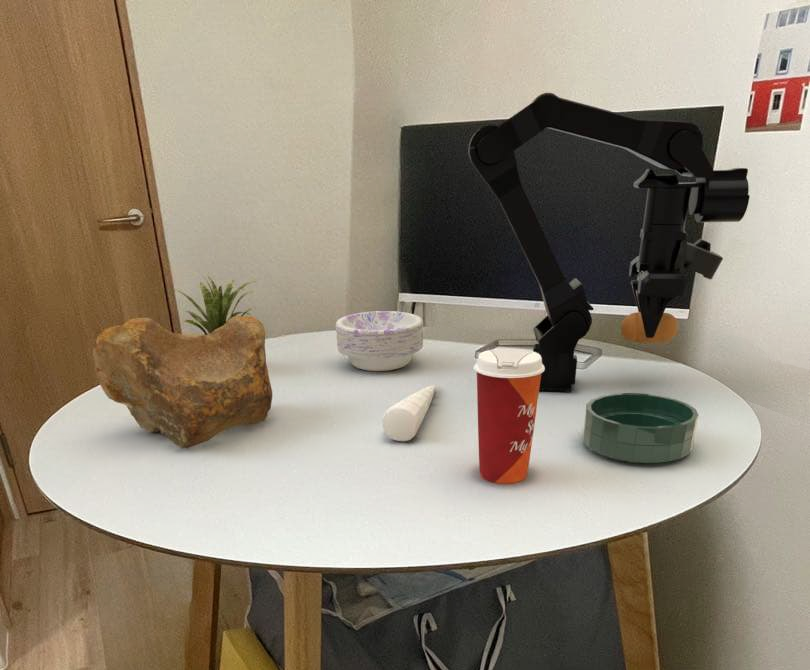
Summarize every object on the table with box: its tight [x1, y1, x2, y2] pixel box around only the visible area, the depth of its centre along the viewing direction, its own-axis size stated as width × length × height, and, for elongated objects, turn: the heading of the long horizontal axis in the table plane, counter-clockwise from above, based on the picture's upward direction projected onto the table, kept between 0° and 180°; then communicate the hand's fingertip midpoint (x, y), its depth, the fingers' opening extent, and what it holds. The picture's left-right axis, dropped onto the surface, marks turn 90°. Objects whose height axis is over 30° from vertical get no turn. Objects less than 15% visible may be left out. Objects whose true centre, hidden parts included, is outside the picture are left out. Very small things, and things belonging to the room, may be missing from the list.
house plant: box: [173, 275, 258, 335], centre depth 119 cm, size 14×14×16 cm
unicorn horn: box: [382, 384, 437, 443], centre depth 101 cm, size 5×24×5 cm, turn 163°
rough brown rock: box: [92, 315, 274, 449], centre depth 94 cm, size 23×17×15 cm
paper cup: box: [473, 347, 545, 485], centre depth 80 cm, size 8×8×14 cm
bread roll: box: [620, 311, 679, 344], centre depth 107 cm, size 8×4×4 cm, turn 79°
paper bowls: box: [335, 310, 424, 372], centre depth 124 cm, size 15×15×8 cm
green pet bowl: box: [582, 392, 699, 464], centre depth 88 cm, size 13×13×5 cm
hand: (648, 334), depth 108 cm, fingers closed on bread roll, 4 cm apart
